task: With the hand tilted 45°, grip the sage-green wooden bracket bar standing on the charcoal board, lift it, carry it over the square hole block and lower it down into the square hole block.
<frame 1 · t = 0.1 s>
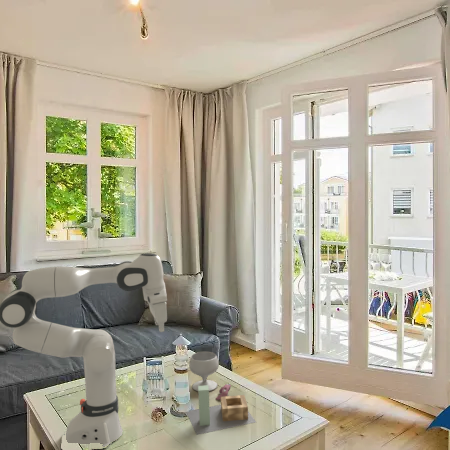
hand: (159, 328, 161), 39 cm above the table, tool pointing down, fingers open, 8 cm apart
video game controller: (223, 398, 183), on the table
square hole block: (234, 417, 166), resting on base board
chalice: (204, 387, 194), on the table
base board: (220, 420, 164), on the table
bracket bar: (204, 422, 160), point 1 cm above the table, touching base board
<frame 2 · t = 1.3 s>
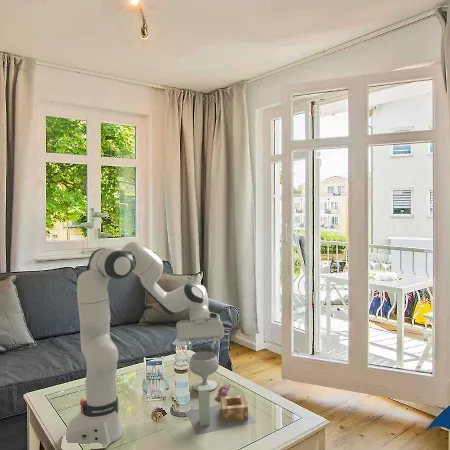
hand: (201, 348, 171), 26 cm above the table, tool tilted 45°, fingers open, 8 cm apart
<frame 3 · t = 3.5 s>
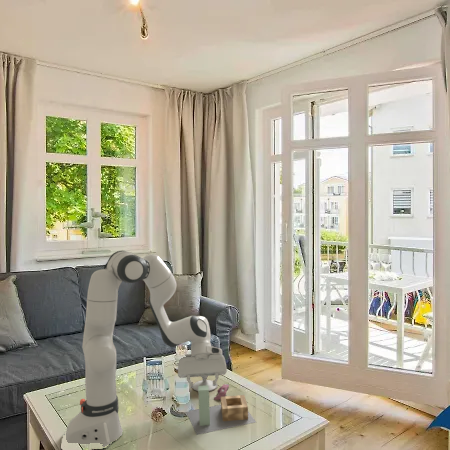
hand: (203, 386, 164), 14 cm above the table, tool tilted 45°, fingers open, 8 cm apart
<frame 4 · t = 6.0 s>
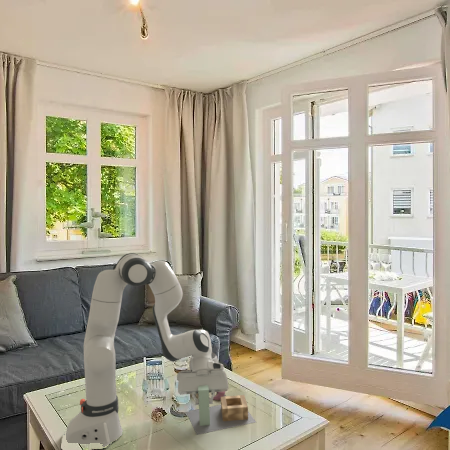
hand: (204, 403, 159), 9 cm above the table, tool tilted 45°, fingers closed on bracket bar, 4 cm apart
bracket bar: (204, 422, 160), point 2 cm above the table, touching base board, gripper
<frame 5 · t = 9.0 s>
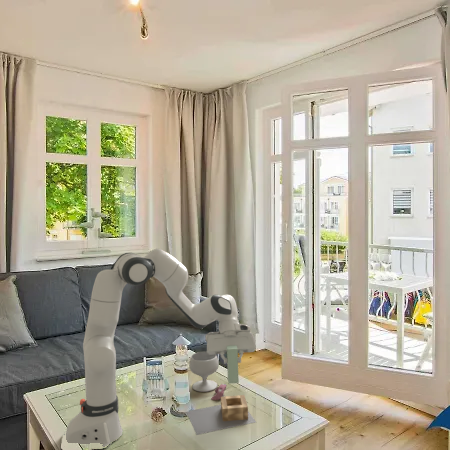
hand: (232, 362, 164), 23 cm above the table, tool tilted 45°, fingers closed on bracket bar, 4 cm apart
bracket bar: (233, 381, 165), point 15 cm above the table, touching gripper
when the fingers open (11 cm above the table, at t = 12.0 s): bracket bar drops 1 cm, resting on base board.
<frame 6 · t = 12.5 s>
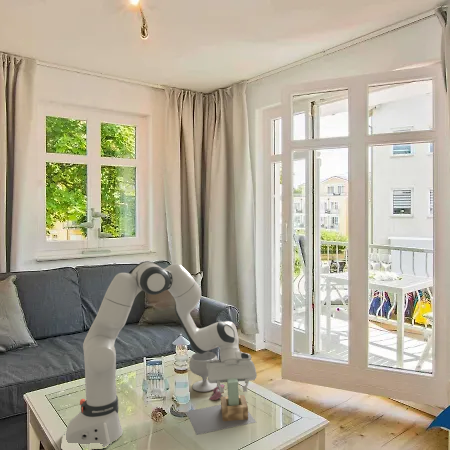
hand: (233, 392, 165), 11 cm above the table, tool tilted 45°, fingers open, 8 cm apart
bracket bar: (233, 413, 166), point 2 cm above the table, touching base board
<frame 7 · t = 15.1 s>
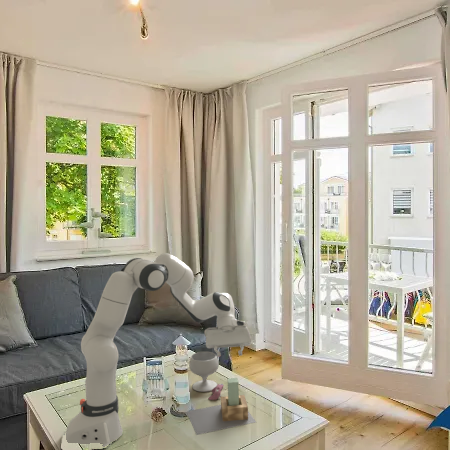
hand: (229, 355, 177), 21 cm above the table, tool tilted 45°, fingers open, 8 cm apart
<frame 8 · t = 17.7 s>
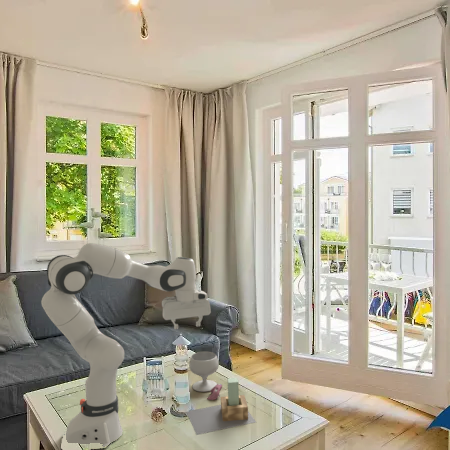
hand: (187, 327, 173), 35 cm above the table, tool pointing down, fingers open, 8 cm apart
at the end: bracket bar 0.1 cm off-centre on the square hole block, point 1.5 cm above the square hole block's base; bracket bar tilted 0°; the gripper is holding nothing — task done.
